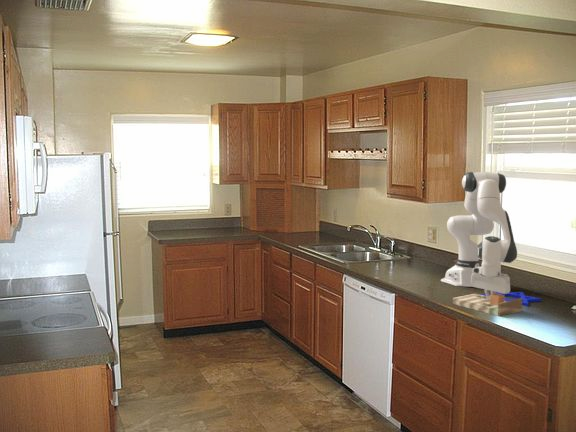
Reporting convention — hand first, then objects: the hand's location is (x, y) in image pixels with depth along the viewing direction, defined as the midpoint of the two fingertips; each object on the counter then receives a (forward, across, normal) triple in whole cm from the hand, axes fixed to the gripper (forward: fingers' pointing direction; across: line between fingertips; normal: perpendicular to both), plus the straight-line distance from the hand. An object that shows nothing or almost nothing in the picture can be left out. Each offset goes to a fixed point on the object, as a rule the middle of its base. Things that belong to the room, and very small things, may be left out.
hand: (489, 299), depth 298 cm
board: (+4, +2, 0) cm, 5 cm away
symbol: (+5, +6, -25) cm, 26 cm away
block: (+1, -4, 0) cm, 4 cm away
